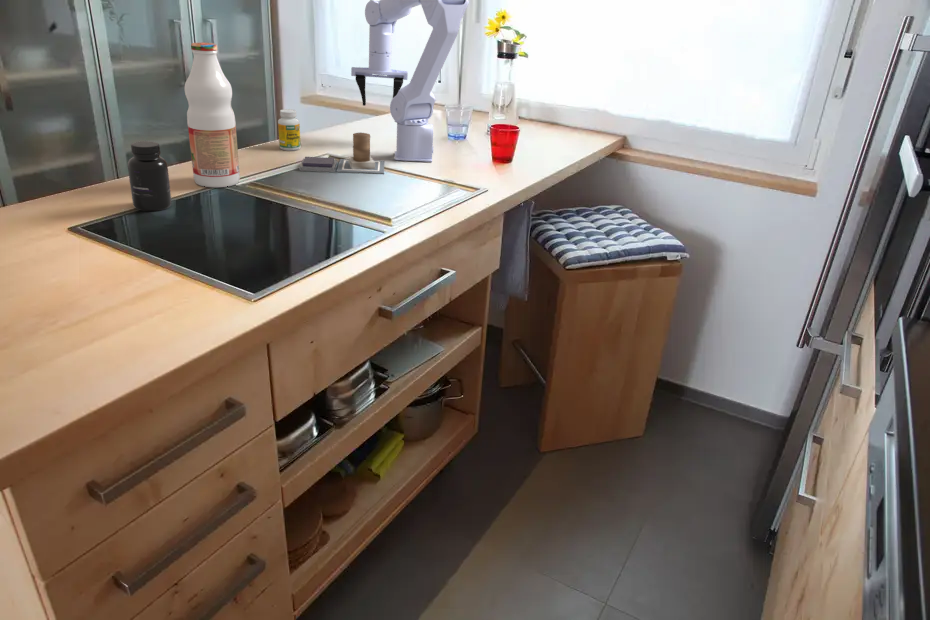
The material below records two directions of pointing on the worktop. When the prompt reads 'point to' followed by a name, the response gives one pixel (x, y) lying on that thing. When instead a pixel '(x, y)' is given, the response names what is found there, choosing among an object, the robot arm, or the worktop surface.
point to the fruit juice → (211, 120)
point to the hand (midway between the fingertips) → (378, 105)
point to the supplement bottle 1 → (149, 177)
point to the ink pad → (318, 164)
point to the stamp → (361, 152)
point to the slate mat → (347, 168)
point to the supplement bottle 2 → (289, 130)
